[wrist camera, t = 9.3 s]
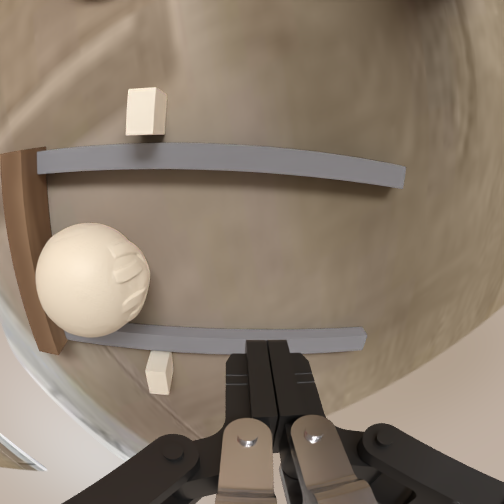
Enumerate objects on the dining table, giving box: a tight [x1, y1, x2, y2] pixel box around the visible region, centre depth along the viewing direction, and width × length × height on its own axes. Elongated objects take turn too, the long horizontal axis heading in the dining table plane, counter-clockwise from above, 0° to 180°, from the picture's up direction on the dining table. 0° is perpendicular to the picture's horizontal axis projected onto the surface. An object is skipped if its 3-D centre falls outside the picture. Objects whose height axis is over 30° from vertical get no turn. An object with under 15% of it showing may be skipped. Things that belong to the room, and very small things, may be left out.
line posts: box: [126, 87, 173, 395], centre depth 18 cm, size 2×20×3 cm, turn 176°
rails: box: [37, 143, 406, 354], centre depth 19 cm, size 24×14×1 cm, turn 86°
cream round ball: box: [36, 223, 150, 338], centre depth 16 cm, size 7×7×7 cm
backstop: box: [0, 147, 68, 355], centre depth 17 cm, size 2×15×3 cm, turn 176°
